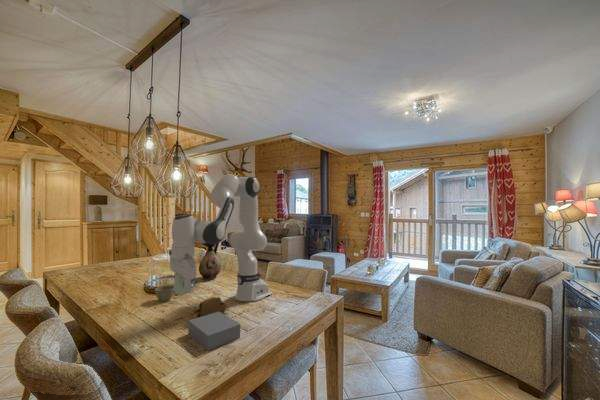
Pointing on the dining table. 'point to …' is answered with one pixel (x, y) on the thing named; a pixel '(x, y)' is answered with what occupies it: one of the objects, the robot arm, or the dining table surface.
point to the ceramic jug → (210, 263)
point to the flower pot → (164, 293)
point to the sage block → (181, 285)
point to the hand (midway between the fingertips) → (182, 285)
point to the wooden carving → (210, 307)
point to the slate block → (214, 330)
